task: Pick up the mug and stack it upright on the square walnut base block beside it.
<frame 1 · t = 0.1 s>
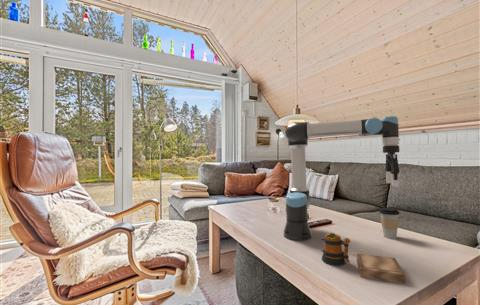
hand: (392, 184, 124), 28 cm above the table, fingers open, 13 cm apart
mug: (336, 262, 98), on the table
base: (378, 270, 89), on the table
coffee cup: (389, 237, 125), on the table
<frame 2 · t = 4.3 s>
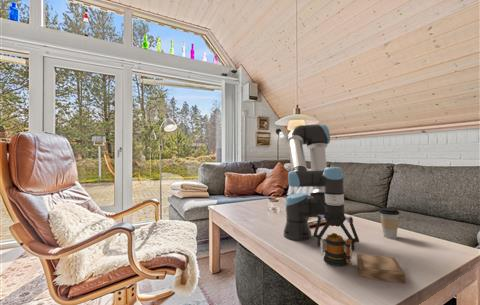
hand: (335, 256, 98), 2 cm above the table, fingers closed on mug, 10 cm apart
mug: (338, 262, 97), on the table, touching gripper
everything else where it was.
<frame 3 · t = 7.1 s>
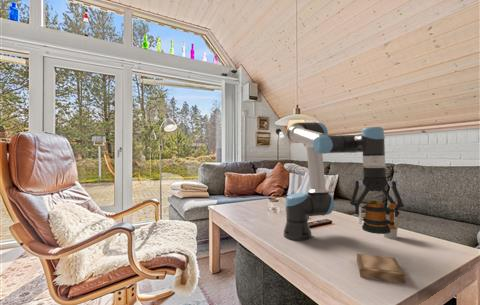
hand: (376, 224, 89), 18 cm above the table, fingers closed on mug, 10 cm apart
mug: (379, 231, 89), point 15 cm above the table, touching gripper
everything else where it was.
when the fingers open (7 cm above the table, at t = 9.7 s): mug drops 1 cm, resting on base.
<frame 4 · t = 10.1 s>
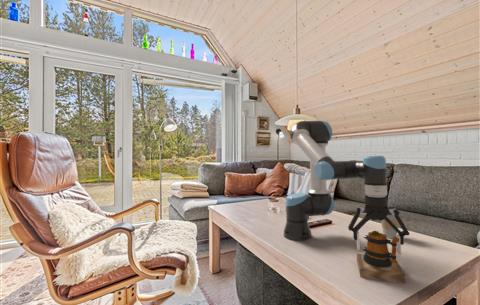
hand: (378, 250, 89), 8 cm above the table, fingers open, 13 cm apart
mug: (380, 263, 89), point 3 cm above the table, touching base
everything else where it was.
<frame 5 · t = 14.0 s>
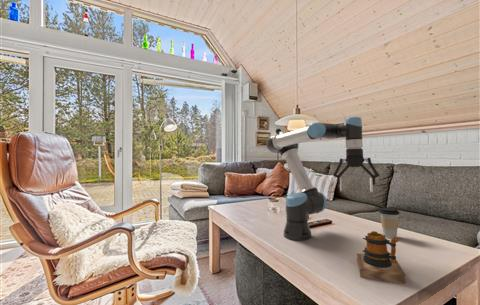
hand: (355, 191, 115), 27 cm above the table, fingers open, 13 cm apart
nothing on the table moved.
at the end: mug inside the target area on the base (0.9 cm from its centre), point 2.9 cm above the base's base; mug tilted 0°; the gripper is holding nothing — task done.
